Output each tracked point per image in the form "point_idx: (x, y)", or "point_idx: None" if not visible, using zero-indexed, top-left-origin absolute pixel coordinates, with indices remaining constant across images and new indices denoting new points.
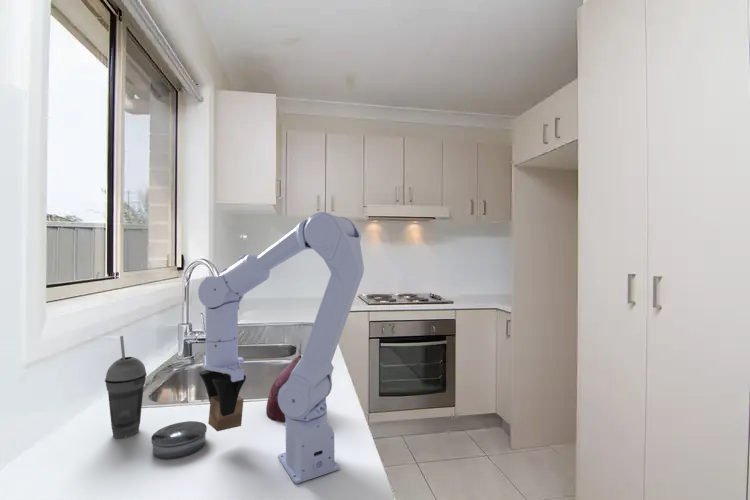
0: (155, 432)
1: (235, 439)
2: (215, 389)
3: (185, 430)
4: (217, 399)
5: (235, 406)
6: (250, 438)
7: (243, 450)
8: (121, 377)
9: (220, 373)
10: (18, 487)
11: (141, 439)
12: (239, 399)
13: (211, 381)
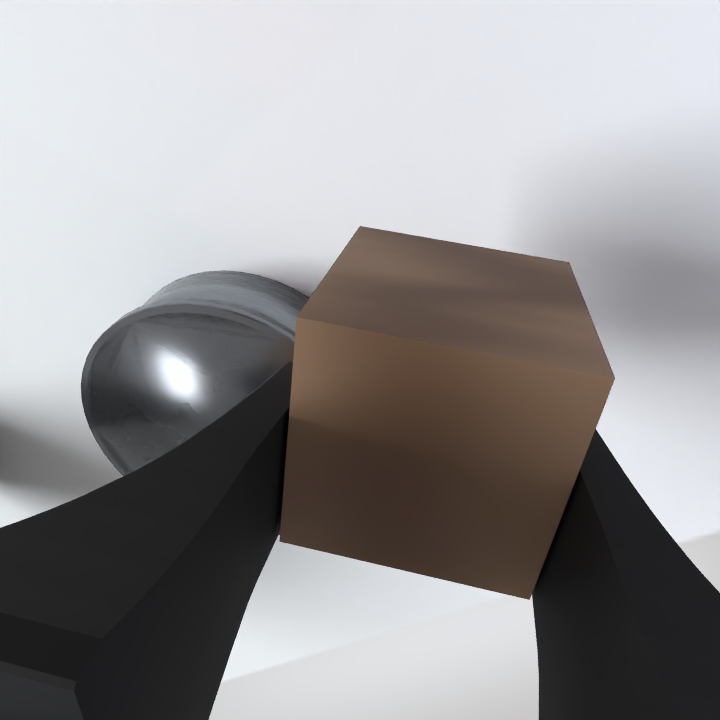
0: None
1: (414, 156)
2: (246, 554)
3: (217, 411)
4: (401, 551)
5: (612, 455)
6: (498, 70)
7: (601, 212)
8: None
9: (153, 715)
10: None
11: (54, 433)
12: (588, 420)
13: (204, 689)
